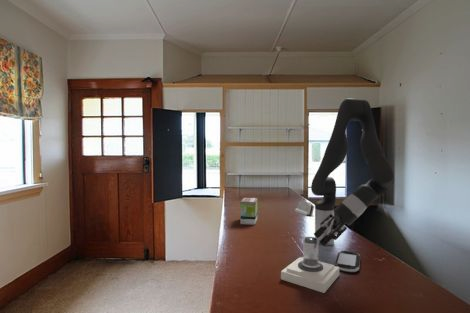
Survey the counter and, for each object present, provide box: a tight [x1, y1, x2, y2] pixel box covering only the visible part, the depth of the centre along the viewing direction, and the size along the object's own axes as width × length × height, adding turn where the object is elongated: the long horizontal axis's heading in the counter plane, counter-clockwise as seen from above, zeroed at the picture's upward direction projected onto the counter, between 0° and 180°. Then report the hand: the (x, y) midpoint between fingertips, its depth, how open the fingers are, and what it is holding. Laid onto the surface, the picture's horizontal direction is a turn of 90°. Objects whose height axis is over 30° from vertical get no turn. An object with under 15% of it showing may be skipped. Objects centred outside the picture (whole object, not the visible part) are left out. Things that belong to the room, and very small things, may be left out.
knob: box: [302, 236, 320, 269], centre depth 101 cm, size 6×6×10 cm
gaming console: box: [334, 250, 361, 274], centre depth 114 cm, size 19×9×2 cm, turn 154°
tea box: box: [240, 197, 258, 226], centre depth 180 cm, size 15×10×15 cm
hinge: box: [294, 200, 315, 217], centre depth 202 cm, size 17×5×10 cm, turn 18°
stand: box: [280, 256, 340, 294], centre depth 101 cm, size 16×16×4 cm
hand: (318, 240), depth 101 cm, fingers open, 8 cm apart
